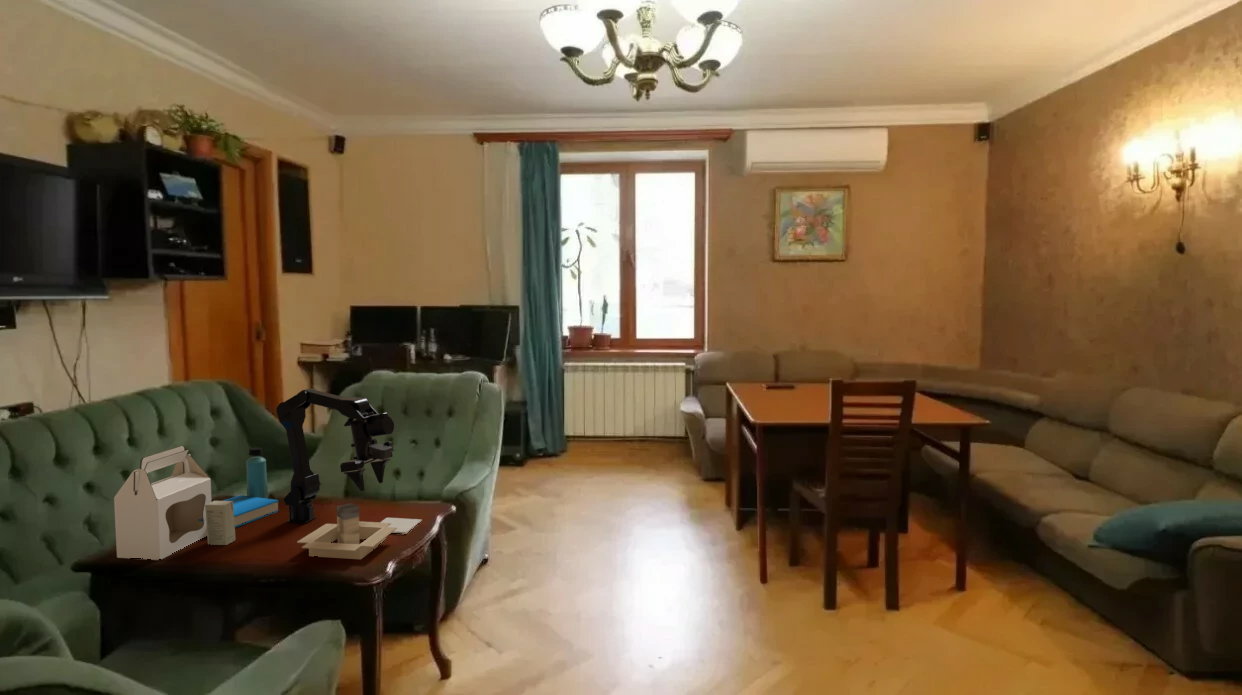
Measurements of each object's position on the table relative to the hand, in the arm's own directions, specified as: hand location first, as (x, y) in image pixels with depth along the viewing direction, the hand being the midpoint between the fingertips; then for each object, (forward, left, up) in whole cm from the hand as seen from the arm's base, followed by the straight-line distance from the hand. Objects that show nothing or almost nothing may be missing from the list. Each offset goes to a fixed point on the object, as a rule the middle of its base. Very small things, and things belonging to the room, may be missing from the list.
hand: (372, 486), depth 222 cm
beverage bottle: (-51, +18, -14) cm, 56 cm away
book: (-50, +1, -14) cm, 52 cm away
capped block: (0, -15, -14) cm, 21 cm away
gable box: (-53, -22, -14) cm, 59 cm away
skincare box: (-39, -17, -14) cm, 45 cm away
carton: (0, -15, -14) cm, 21 cm away
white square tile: (+6, +4, -14) cm, 16 cm away
